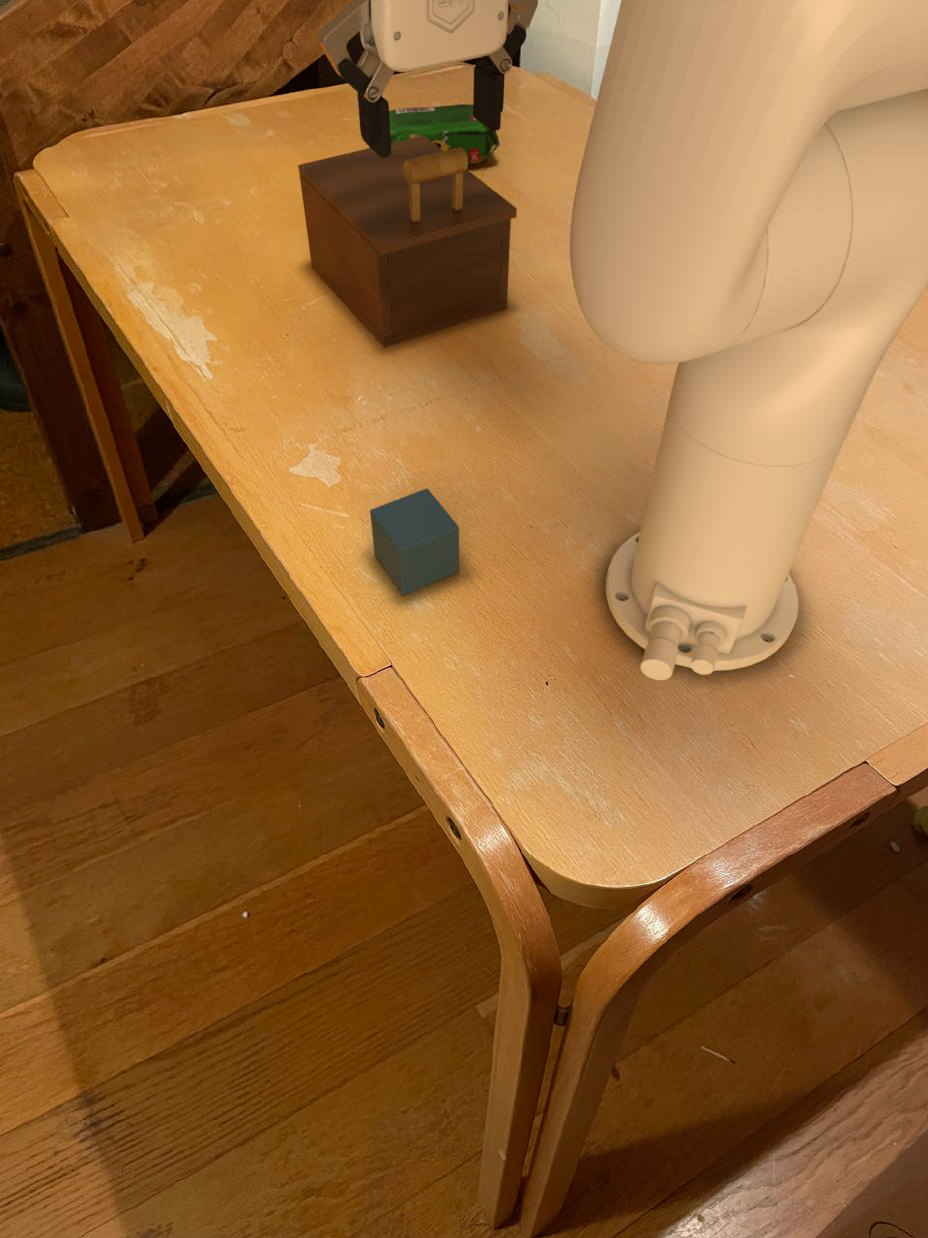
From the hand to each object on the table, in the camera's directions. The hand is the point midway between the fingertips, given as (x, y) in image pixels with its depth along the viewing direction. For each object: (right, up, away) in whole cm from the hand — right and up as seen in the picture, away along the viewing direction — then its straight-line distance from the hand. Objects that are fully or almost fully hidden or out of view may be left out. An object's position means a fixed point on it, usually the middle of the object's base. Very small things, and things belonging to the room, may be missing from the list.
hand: (433, 136), depth 70 cm
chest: (-3, -6, +15) cm, 17 cm away
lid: (-3, -1, +8) cm, 9 cm away
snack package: (-1, +15, +33) cm, 36 cm away
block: (-1, -34, -8) cm, 35 cm away
